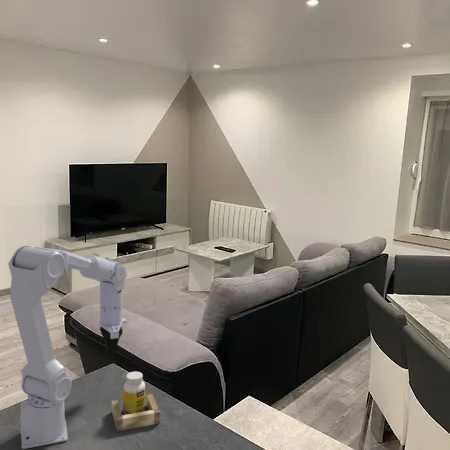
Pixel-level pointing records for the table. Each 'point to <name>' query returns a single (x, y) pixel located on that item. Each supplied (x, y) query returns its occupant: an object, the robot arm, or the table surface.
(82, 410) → the table surface
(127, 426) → the dock
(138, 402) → the supplement bottle
